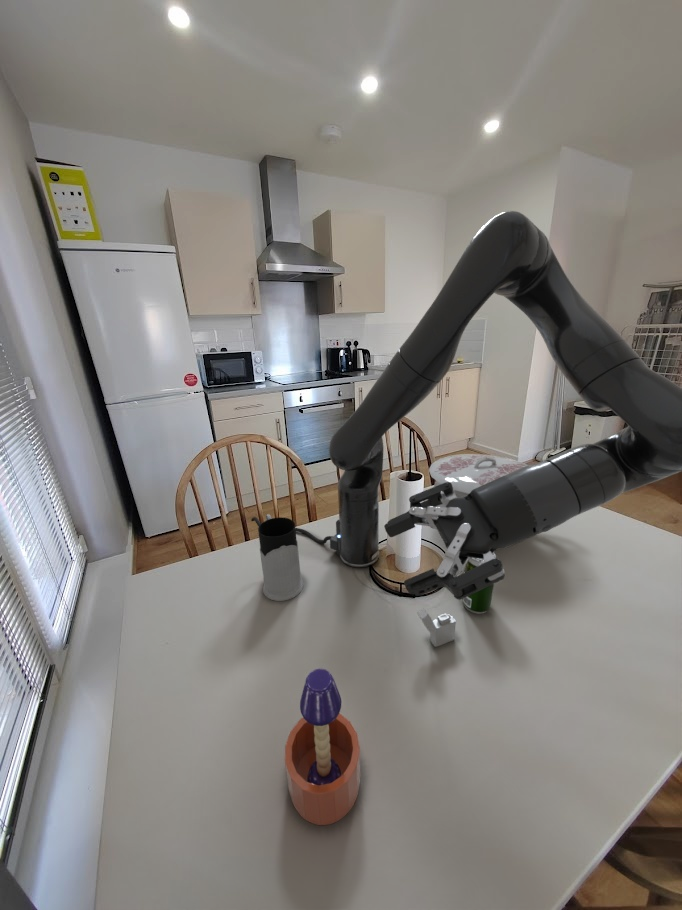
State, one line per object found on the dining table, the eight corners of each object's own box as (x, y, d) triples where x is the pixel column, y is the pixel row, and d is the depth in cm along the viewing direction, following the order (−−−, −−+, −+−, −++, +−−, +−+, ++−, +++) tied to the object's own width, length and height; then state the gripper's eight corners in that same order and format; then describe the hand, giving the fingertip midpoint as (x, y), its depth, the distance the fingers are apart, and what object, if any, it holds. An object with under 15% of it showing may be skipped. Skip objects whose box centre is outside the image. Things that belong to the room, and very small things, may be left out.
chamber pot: (409, 538, 93) (412, 465, 86) (445, 496, 114) (450, 435, 107) (527, 576, 78) (542, 491, 71) (544, 520, 99) (557, 450, 92)
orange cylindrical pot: (274, 788, 44) (269, 757, 42) (320, 726, 50) (318, 696, 48) (330, 846, 39) (327, 814, 37) (373, 769, 45) (373, 738, 43)
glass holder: (268, 606, 72) (259, 543, 67) (254, 566, 84) (246, 510, 79) (308, 592, 75) (304, 531, 70) (289, 556, 88) (284, 501, 82)
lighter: (448, 632, 65) (451, 597, 62) (454, 639, 63) (458, 604, 60) (414, 645, 62) (416, 609, 60) (420, 653, 61) (422, 616, 58)
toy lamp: (307, 756, 46) (297, 663, 41) (342, 752, 47) (338, 659, 41) (307, 803, 42) (296, 705, 36) (346, 797, 42) (342, 700, 36)
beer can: (478, 619, 67) (485, 567, 63) (455, 602, 71) (460, 552, 67) (496, 607, 70) (503, 556, 66) (473, 591, 74) (478, 542, 70)
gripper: (486, 447, 45) (371, 500, 47) (559, 531, 34) (404, 596, 36) (495, 484, 50) (389, 531, 52) (563, 570, 38) (424, 625, 40)
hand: (396, 558), depth 44 cm, fingers open, 8 cm apart
